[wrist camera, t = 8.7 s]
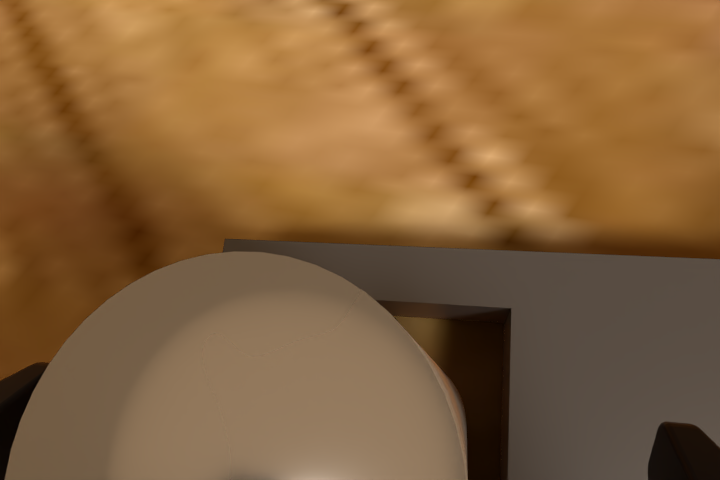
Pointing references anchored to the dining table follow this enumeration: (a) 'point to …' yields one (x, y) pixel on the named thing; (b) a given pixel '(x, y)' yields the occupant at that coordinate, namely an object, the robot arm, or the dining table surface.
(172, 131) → the dining table surface
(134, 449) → the cylinder
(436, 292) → the twin nest fixture
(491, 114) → the dining table surface
